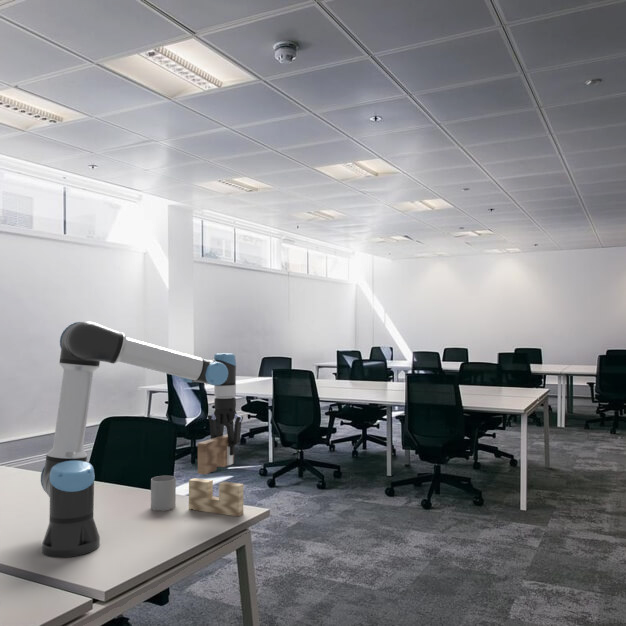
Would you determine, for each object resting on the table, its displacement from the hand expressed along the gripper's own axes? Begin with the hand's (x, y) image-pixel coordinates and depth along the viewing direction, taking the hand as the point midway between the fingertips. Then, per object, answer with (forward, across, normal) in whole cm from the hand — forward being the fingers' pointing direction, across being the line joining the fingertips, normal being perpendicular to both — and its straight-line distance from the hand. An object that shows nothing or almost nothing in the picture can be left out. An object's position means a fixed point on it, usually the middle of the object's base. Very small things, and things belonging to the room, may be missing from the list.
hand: (225, 463), depth 207 cm
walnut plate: (0, 0, +6) cm, 6 cm away
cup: (+15, +20, +9) cm, 27 cm away
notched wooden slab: (+15, 0, +6) cm, 16 cm away
